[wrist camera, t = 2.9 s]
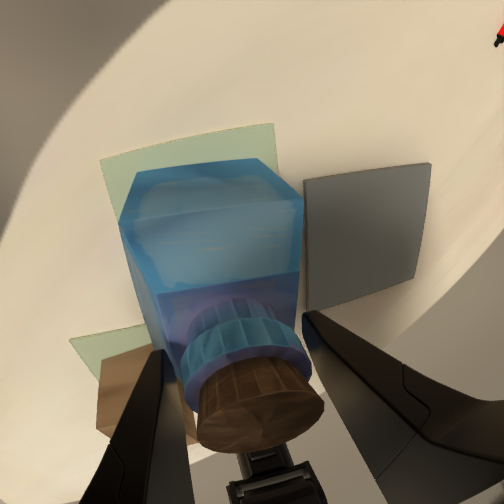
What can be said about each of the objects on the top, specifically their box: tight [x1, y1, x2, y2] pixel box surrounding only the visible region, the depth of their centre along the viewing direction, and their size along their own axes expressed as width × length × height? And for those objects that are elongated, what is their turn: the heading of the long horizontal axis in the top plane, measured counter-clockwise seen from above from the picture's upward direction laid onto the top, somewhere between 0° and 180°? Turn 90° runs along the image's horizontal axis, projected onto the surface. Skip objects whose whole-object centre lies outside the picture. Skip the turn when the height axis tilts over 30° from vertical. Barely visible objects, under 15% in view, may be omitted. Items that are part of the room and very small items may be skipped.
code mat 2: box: [100, 123, 278, 222], centre depth 16 cm, size 9×9×1 cm
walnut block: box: [96, 343, 199, 445], centre depth 19 cm, size 5×5×6 cm
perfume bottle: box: [118, 158, 324, 453], centre depth 11 cm, size 6×6×12 cm
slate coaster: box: [303, 163, 432, 311], centre depth 20 cm, size 10×10×1 cm
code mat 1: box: [69, 324, 152, 382], centre depth 21 cm, size 9×9×1 cm
